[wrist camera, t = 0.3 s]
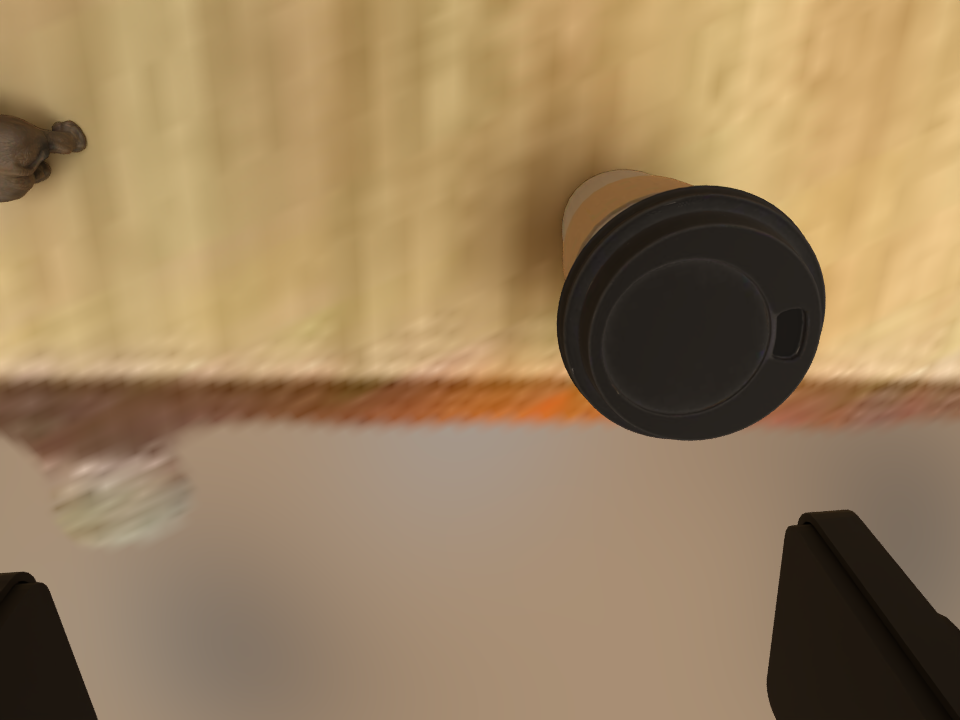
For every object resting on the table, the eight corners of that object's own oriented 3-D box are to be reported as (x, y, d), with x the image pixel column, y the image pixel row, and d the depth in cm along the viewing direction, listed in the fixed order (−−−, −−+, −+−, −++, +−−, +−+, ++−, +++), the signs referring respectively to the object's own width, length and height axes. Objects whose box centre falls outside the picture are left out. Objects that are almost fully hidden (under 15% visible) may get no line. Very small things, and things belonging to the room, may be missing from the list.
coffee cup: (734, 257, 40) (883, 383, 26) (574, 342, 42) (636, 501, 28) (661, 93, 37) (789, 140, 23) (490, 192, 38) (513, 292, 25)
